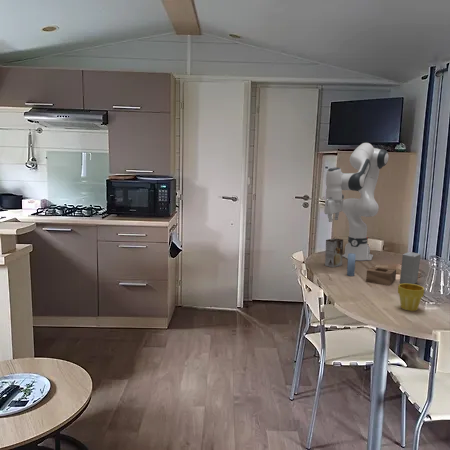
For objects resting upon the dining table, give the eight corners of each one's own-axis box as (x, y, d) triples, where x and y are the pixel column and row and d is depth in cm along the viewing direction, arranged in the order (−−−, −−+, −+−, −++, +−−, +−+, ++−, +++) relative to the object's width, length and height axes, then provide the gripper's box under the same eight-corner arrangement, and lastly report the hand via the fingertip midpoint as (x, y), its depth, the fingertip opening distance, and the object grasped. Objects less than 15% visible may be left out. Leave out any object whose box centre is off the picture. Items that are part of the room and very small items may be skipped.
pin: (348, 273, 244) (349, 253, 242) (355, 275, 242) (356, 253, 240) (345, 275, 241) (347, 254, 239) (353, 276, 238) (354, 255, 236)
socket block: (372, 276, 238) (373, 266, 237) (395, 280, 231) (396, 269, 230) (366, 281, 228) (366, 270, 227) (389, 285, 222) (390, 274, 221)
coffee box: (333, 263, 268) (334, 237, 266) (342, 265, 264) (343, 239, 261) (324, 265, 262) (325, 239, 260) (333, 267, 258) (334, 241, 255)
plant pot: (427, 312, 183) (429, 289, 181) (403, 312, 182) (405, 290, 180) (414, 304, 193) (416, 283, 191) (392, 304, 192) (393, 283, 191)
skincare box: (405, 280, 232) (407, 251, 230) (419, 282, 227) (421, 253, 225) (398, 283, 226) (400, 253, 224) (412, 286, 221) (414, 255, 219)
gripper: (332, 197, 235) (332, 223, 237) (345, 195, 252) (344, 219, 254) (321, 197, 238) (321, 222, 240) (334, 195, 255) (334, 218, 257)
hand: (333, 220), depth 247 cm, fingers open, 8 cm apart
